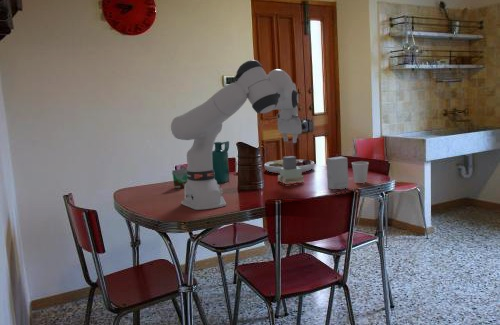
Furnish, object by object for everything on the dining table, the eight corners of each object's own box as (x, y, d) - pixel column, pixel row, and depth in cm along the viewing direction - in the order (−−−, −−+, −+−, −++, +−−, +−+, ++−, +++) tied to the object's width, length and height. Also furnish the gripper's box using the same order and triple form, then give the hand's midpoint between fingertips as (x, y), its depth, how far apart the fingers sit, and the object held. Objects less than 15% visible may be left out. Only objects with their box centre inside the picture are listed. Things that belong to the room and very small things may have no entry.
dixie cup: (371, 183, 215) (371, 163, 213) (354, 184, 214) (354, 164, 213) (365, 180, 223) (365, 161, 221) (349, 181, 222) (349, 162, 221)
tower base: (303, 184, 224) (303, 176, 224) (286, 186, 221) (285, 178, 220) (295, 181, 234) (294, 173, 233) (278, 183, 230) (277, 175, 230)
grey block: (296, 168, 224) (296, 156, 224) (287, 169, 223) (287, 157, 222) (292, 167, 229) (291, 156, 228) (283, 168, 227) (282, 156, 226)
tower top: (301, 176, 223) (301, 168, 223) (284, 178, 221) (284, 170, 221) (296, 173, 232) (296, 166, 231) (279, 175, 230) (279, 167, 230)
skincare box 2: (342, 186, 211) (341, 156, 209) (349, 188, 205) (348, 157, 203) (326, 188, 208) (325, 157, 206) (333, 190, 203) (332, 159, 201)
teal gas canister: (210, 182, 238) (207, 142, 235) (216, 180, 246) (214, 141, 243) (226, 183, 235) (223, 142, 232) (232, 180, 242) (230, 140, 239)
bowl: (255, 174, 262) (254, 160, 260) (280, 166, 286) (280, 154, 285) (299, 176, 244) (299, 163, 243) (322, 168, 269) (322, 155, 268)
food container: (184, 189, 223) (183, 170, 222) (173, 189, 224) (171, 170, 223) (192, 185, 235) (191, 166, 234) (181, 185, 236) (180, 166, 235)
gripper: (304, 115, 214) (305, 143, 216) (286, 114, 233) (286, 140, 235) (293, 115, 211) (293, 144, 213) (275, 115, 230) (276, 141, 232)
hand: (290, 142), depth 224 cm, fingers open, 8 cm apart
